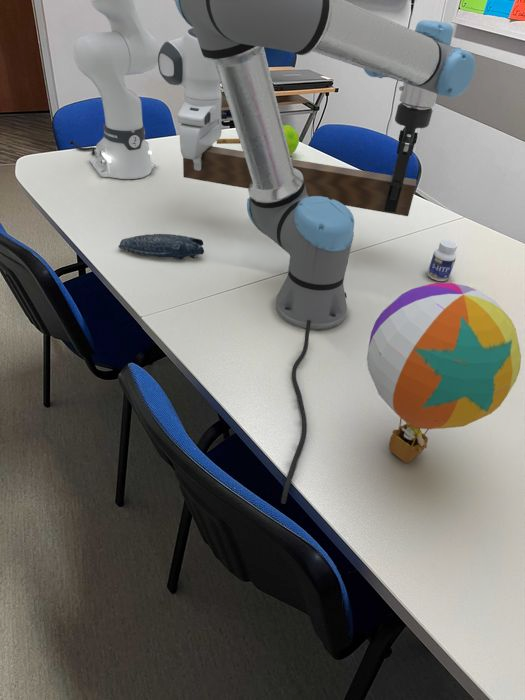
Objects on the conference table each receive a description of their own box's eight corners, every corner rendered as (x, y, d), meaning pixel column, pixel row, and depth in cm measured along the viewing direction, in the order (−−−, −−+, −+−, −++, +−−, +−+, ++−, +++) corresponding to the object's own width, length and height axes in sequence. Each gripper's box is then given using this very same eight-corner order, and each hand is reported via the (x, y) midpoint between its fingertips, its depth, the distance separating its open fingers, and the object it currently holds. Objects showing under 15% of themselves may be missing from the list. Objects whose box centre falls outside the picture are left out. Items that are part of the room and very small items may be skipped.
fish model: (201, 265, 124) (201, 246, 121) (115, 255, 125) (113, 236, 122) (206, 252, 129) (206, 234, 126) (124, 243, 130) (122, 224, 127)
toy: (317, 443, 83) (351, 282, 64) (393, 393, 94) (441, 242, 75) (417, 530, 72) (494, 366, 53) (490, 462, 83) (575, 305, 64)
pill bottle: (425, 278, 127) (436, 245, 122) (428, 268, 131) (438, 236, 126) (447, 283, 126) (459, 250, 120) (449, 273, 130) (460, 241, 124)
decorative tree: (213, 119, 187) (294, 118, 192) (214, 148, 193) (292, 147, 198) (219, 133, 173) (306, 132, 178) (220, 165, 179) (303, 163, 185)
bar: (408, 209, 129) (416, 179, 124) (408, 216, 125) (416, 186, 120) (190, 171, 138) (189, 142, 133) (183, 177, 134) (182, 147, 130)
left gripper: (205, 96, 133) (204, 151, 142) (174, 117, 118) (175, 176, 126) (228, 100, 132) (226, 155, 141) (200, 121, 117) (200, 181, 125)
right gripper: (400, 94, 120) (378, 191, 135) (396, 112, 107) (371, 218, 121) (433, 99, 119) (407, 196, 134) (433, 117, 105) (404, 224, 120)
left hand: (202, 165), depth 134 cm, fingers closed on bar, 5 cm apart
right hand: (390, 206), depth 127 cm, fingers closed on bar, 5 cm apart
